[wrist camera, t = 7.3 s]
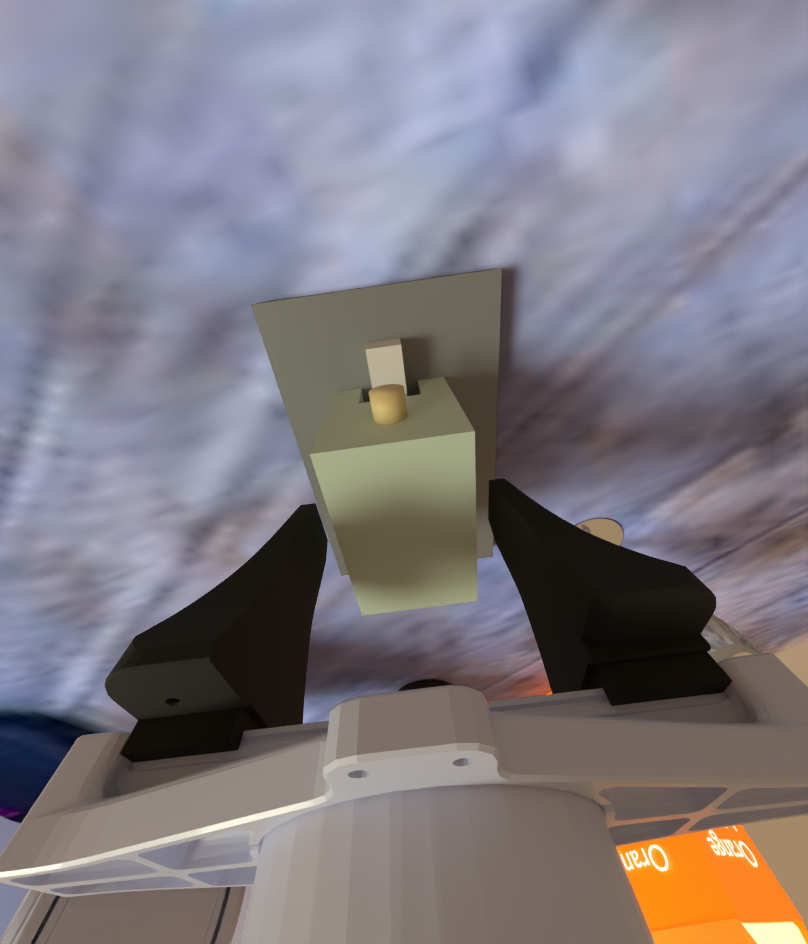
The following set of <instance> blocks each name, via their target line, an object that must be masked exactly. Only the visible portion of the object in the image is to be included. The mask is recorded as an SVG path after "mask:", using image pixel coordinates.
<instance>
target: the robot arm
mask: <svg viewBox="0 0 808 944" xmlns="http://www.w3.org/2000/svg"><path fill="white" fill-rule="evenodd" d="M488 520H489V523H490V527H491V530H492V533H493V536H494V539H495V541H496V544H497V546H498V548H499V550H500V552H501V554H502V556H503V559H504V561H505V563H506V565H507V567H508V569H509V571H510V573H511V575H512V577H513V579H514V582H515V584H516V586H517V588H518V591H519V593H520V595H521V598H522V601H523V604H524V606H525V609H526V612H527V615H528V618H529V621H530V624H531V627H532V630H533V633H534V636H535V639H536V642H537V645H538V648H539V651H540V654H541V657H542V661H543V664H544V667H545V670H546V673H547V677H548V680H549V684H550V687H551V690H552V694H549V695H540V696H532V697H524V698H515V699H507V700H499V701H490V702H487V700H486V698H485V697H484V695H483V693H481V692H480V691H478V690H476V689H473V688H470V687H468V686H456V685H446V686H438V687H430V688H421V689H413V690H405V691H397V692H388V693H380V694H372V695H363V696H358V697H354V698H351V699H347V700H344V701H343V702H341V703H340V704H339V705H337V706H336V707H335V708H334V709H333V710H331V711H330V717H329V721H323V722H315V723H306V724H303V707H304V694H305V681H306V670H307V660H308V651H309V642H310V634H311V626H312V620H313V614H314V609H315V605H316V601H317V597H318V593H319V588H320V584H321V580H322V576H323V571H324V567H325V562H326V553H327V541H328V540H327V537H326V534H325V531H324V528H323V525H322V522H321V519H320V516H319V513H318V510H317V507H316V504H315V503H314V504H307V505H301V506H300V507H299V508H298V509H297V510H296V511H295V512H294V513H293V514H292V515H291V517H290V518H289V519H288V520H287V521H286V522H285V523H284V524H283V526H282V527H281V528H280V529H279V530H278V531H277V532H276V533H275V534H274V535H273V537H272V538H271V539H270V540H269V541H268V542H267V543H266V544H265V545H264V546H263V547H262V548H261V549H260V550H259V551H258V552H257V553H256V554H255V555H254V556H253V557H252V558H250V559H249V560H248V561H247V562H246V563H245V564H244V565H243V566H241V567H240V568H239V569H238V570H237V571H236V572H234V573H233V574H232V575H231V576H229V577H228V578H227V579H226V580H224V581H223V582H221V583H220V584H219V585H217V586H216V587H215V588H213V589H212V590H211V591H209V592H208V593H207V594H205V595H204V596H202V597H201V598H199V599H198V600H196V601H195V602H193V603H192V604H190V605H189V606H187V607H186V608H184V609H182V610H181V611H179V612H178V613H176V614H174V615H173V616H171V617H169V618H168V619H166V620H164V621H162V622H160V623H159V624H157V625H155V626H153V627H152V628H150V629H148V630H146V631H144V632H143V633H141V634H139V635H137V636H135V638H134V639H133V641H132V642H131V644H130V645H129V647H128V648H127V649H126V651H125V652H124V654H123V655H122V657H121V658H120V660H119V661H118V662H117V664H116V665H115V667H114V668H113V670H112V671H111V673H110V674H109V676H108V677H107V678H106V682H105V688H106V691H107V693H108V695H109V696H110V697H111V698H112V699H113V701H115V702H116V703H117V704H118V705H120V706H121V707H122V708H123V709H125V710H126V711H127V712H129V713H130V714H131V715H132V716H134V717H135V718H136V719H137V720H138V722H137V724H136V726H135V727H134V729H133V731H132V733H128V732H123V731H115V732H107V733H98V734H90V735H83V736H81V737H79V738H77V740H76V741H75V743H74V745H73V746H72V748H71V749H70V751H69V752H68V754H67V755H66V757H65V758H64V760H63V761H62V763H61V764H60V766H59V767H58V769H57V770H56V772H55V773H54V775H53V776H52V778H51V779H50V781H49V782H48V784H47V785H46V787H45V788H44V790H43V791H42V793H41V794H40V796H39V797H38V799H37V800H36V802H35V803H34V805H33V806H32V808H31V809H30V811H29V812H28V814H27V815H26V817H25V818H24V820H23V821H22V823H21V825H20V826H19V828H18V829H17V831H16V832H15V834H14V835H13V837H12V838H11V840H10V841H9V843H8V844H7V846H6V847H5V849H4V850H3V852H2V853H1V855H0V883H5V884H9V885H14V886H18V887H22V888H27V889H29V891H28V893H27V894H26V896H25V898H24V900H23V901H22V903H21V905H20V907H19V908H18V910H17V912H16V913H15V915H14V917H13V919H12V920H11V922H10V924H9V925H8V927H7V929H6V931H5V933H4V934H3V936H2V938H1V939H0V944H230V943H231V941H232V937H233V935H234V931H235V928H236V925H237V921H238V918H239V914H240V910H241V906H242V902H243V897H244V893H245V888H246V886H253V889H252V893H251V898H250V903H249V907H248V912H247V917H246V921H245V926H244V931H243V935H242V940H241V944H655V941H654V939H653V936H652V934H651V932H650V929H649V927H648V924H647V922H646V919H645V917H644V914H643V912H642V909H641V907H640V904H639V902H638V900H637V897H636V895H635V892H634V890H633V887H632V885H631V882H630V880H629V877H628V875H627V873H626V870H625V868H624V865H623V863H622V860H621V858H620V855H619V853H618V850H617V848H616V847H619V846H624V845H630V844H635V843H641V842H646V841H652V840H657V839H663V838H668V837H674V836H679V835H685V834H690V833H696V832H701V831H707V830H712V829H718V828H724V827H730V826H736V825H742V824H748V823H754V822H761V821H768V820H774V819H780V818H789V817H797V816H805V815H808V687H807V686H805V684H804V683H803V682H802V681H801V680H799V679H798V678H797V677H796V676H795V675H794V674H793V673H792V672H791V671H790V670H789V669H788V668H787V667H786V666H785V665H784V664H783V663H782V662H781V661H780V660H779V659H778V658H777V657H776V656H775V655H774V654H771V653H763V654H754V655H746V656H738V657H731V658H727V659H724V660H722V661H720V662H719V663H717V662H716V661H715V660H714V659H713V658H712V657H711V655H710V654H709V653H708V652H707V651H710V649H711V646H710V644H709V643H708V642H707V641H706V640H705V638H704V637H703V636H702V635H701V633H702V631H703V629H704V628H705V626H706V625H707V623H708V621H709V620H710V618H711V617H712V615H713V613H714V610H715V608H716V597H715V595H714V594H713V593H712V591H711V590H710V589H709V588H708V587H706V586H705V585H704V584H703V583H702V582H701V581H700V580H699V579H698V578H697V577H696V576H695V575H694V574H693V573H692V572H691V571H690V570H689V569H687V568H686V567H685V566H681V565H678V564H674V563H671V562H667V561H664V560H660V559H657V558H653V557H650V556H647V555H644V554H641V553H638V552H635V551H632V550H629V549H627V548H624V547H621V546H619V545H616V544H613V543H611V542H609V541H606V540H604V539H602V538H599V537H597V536H595V535H592V534H590V533H588V532H586V531H584V530H582V529H580V528H578V527H576V526H574V525H572V524H570V523H569V522H567V521H565V520H563V519H561V518H560V517H558V516H557V515H555V514H553V513H552V512H550V511H548V510H547V509H545V508H544V507H542V506H541V505H539V504H538V503H536V502H535V501H534V500H532V499H531V498H529V497H528V496H527V495H525V494H524V493H523V492H521V491H520V490H519V489H517V488H516V487H515V486H513V485H512V484H511V483H509V482H508V481H507V480H505V479H504V478H503V479H495V480H489V498H488Z"/></svg>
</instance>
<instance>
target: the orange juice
mask: <svg viewBox="0 0 808 944" xmlns="http://www.w3.org/2000/svg"><path fill="white" fill-rule="evenodd" d="M549 694H552V691H551V692H550V693H548V694H546V695H549ZM616 848H617V850H618V853H619V855H620V858H621V860H622V863H623V865H624V868H625V870H626V873H627V875H628V877H629V880H630V882H631V885H632V887H633V890H634V892H635V895H636V897H637V900H638V902H639V904H640V907H641V909H642V912H643V914H644V917H645V919H646V922H647V924H648V927H649V929H650V932H651V934H652V936H653V939H654V941H655V944H808V933H807V931H806V929H805V927H804V924H803V922H802V921H803V919H802V918H801V917H800V915H799V913H798V912H797V910H796V909H795V907H794V906H793V904H792V902H791V901H790V900H789V898H788V896H787V895H786V893H785V892H784V890H783V889H782V887H781V886H780V884H779V882H778V881H777V879H776V878H775V876H774V875H773V873H772V872H771V870H770V869H769V867H768V865H767V864H766V862H765V861H764V859H763V858H762V856H761V855H760V853H759V852H758V850H757V848H756V847H755V845H754V844H753V842H752V841H751V839H750V838H749V836H748V835H747V833H746V832H745V830H744V828H743V827H742V825H736V826H730V827H724V828H718V829H712V830H707V831H701V832H696V833H690V834H685V835H679V836H674V837H668V838H663V839H657V840H652V841H646V842H641V843H635V844H630V845H624V846H619V847H616Z"/></svg>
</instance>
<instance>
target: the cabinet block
mask: <svg viewBox="0 0 808 944" xmlns="http://www.w3.org/2000/svg"><path fill="white" fill-rule="evenodd" d="M417 381H418V390H419V395H413V396H406V397H405V392H404V386H402V385H399V384H387V385H381V386H378V387H375V388H373V389H371V390H370V391H369V398H370V402H364V399H363V394H362V389H354V390H348V391H341V392H335V395H334V397H333V400H332V402H331V404H330V407H329V409H328V412H327V414H326V416H325V419H324V421H323V424H322V426H321V428H320V431H319V433H318V436H317V438H316V440H315V443H314V445H313V447H312V450H311V452H310V457H311V460H312V463H313V466H314V469H315V472H316V475H317V478H318V482H319V485H320V488H321V491H322V494H323V497H324V500H325V503H326V506H327V509H328V512H329V515H330V518H331V521H332V524H333V528H334V531H335V534H336V537H337V540H338V543H339V546H340V549H341V552H342V555H343V558H344V561H345V564H346V567H347V571H348V574H349V577H350V580H351V583H352V586H353V589H354V592H355V595H356V598H357V601H358V604H359V607H360V610H361V613H362V615H370V614H378V613H386V612H394V611H401V610H409V609H417V608H425V607H433V606H441V605H448V604H456V603H464V602H472V601H477V537H476V470H475V430H474V429H473V427H472V425H471V423H470V422H469V420H468V418H467V416H466V415H465V413H464V411H463V410H462V408H461V406H460V404H459V403H458V401H457V399H456V397H455V396H454V394H453V392H452V390H451V389H450V387H449V385H448V383H447V382H446V380H445V378H444V377H437V378H430V379H423V380H417Z"/></svg>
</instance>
